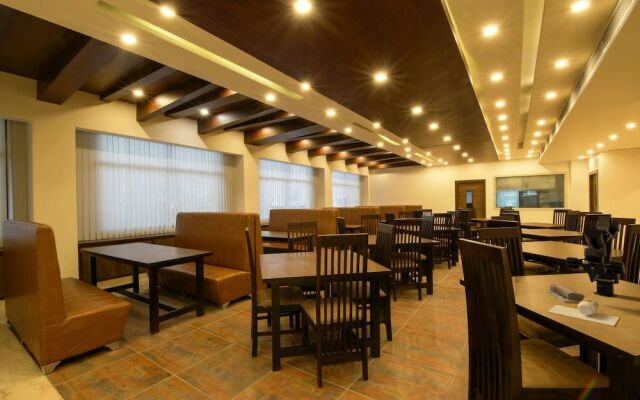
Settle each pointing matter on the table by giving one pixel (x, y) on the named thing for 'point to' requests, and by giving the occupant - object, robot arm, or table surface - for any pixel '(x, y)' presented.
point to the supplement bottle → (588, 306)
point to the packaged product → (565, 293)
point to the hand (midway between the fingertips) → (591, 281)
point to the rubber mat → (577, 314)
